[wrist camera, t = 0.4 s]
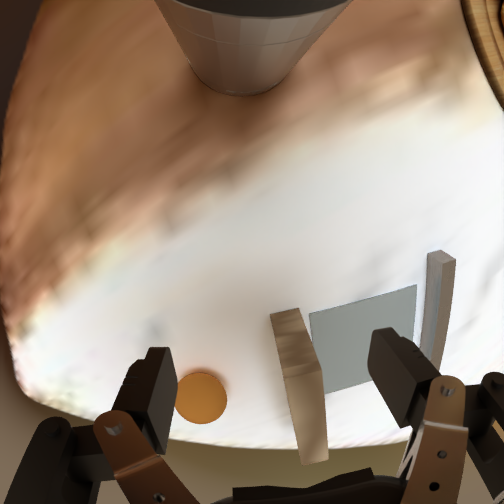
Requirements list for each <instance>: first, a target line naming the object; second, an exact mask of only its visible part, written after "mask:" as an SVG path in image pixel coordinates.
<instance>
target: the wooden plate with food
mask: <svg viewBox="0 0 504 504" xmlns="http://www.w3.org/2000/svg"><path fill="white" fill-rule="evenodd" d="M462 5H463V10H464V14H465V18H466V22H467V25H468V28H469V31H470V35H471V38H472V41H473V43H474V46H475V49H476V52H477V55H478V57H479V60H480V62H481V64H482V67H483V69H484V72H485V74H486V76H487V78H488V80H489V82H490V85H491V87H492V89H493V91H494V93H495V95H496V97H497V99H498V100H499V102H500V104H501V106H502V107H503V109H504V0H462Z"/></svg>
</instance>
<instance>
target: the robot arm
mask: <svg viewBox="0 0 504 504" xmlns="http://www.w3.org/2000/svg"><path fill="white" fill-rule="evenodd" d="M154 1H155V2H156V4H157V6H158V7H159V9H160V11H161V13H162V14H163V16H164V18H165V20H166V21H167V23H168V25H169V27H170V28H171V30H172V32H173V34H174V36H175V37H176V39H177V41H178V43H179V45H180V46H181V48H182V50H183V52H184V54H185V56H186V58H187V59H188V61H189V63H190V65H191V67H192V69H193V70H194V72H195V74H196V75H197V76H198V77H199V79H200V80H201V81H202V82H204V83H205V84H206V85H207V86H209V87H210V88H212V89H214V90H216V91H218V92H220V93H224V94H227V95H233V96H250V95H255V94H259V93H263V92H265V91H267V90H269V89H271V88H273V87H274V86H276V85H277V84H278V83H280V82H281V81H282V80H283V79H284V77H285V76H286V75H287V74H288V73H289V72H290V70H291V69H292V68H293V67H294V66H295V65H296V64H297V62H298V61H299V60H300V59H301V58H302V57H303V55H304V54H305V53H306V52H307V51H308V50H309V48H310V47H311V46H312V45H313V44H314V43H315V41H316V40H317V39H318V38H319V37H320V36H321V35H322V34H323V32H324V31H325V30H326V29H327V28H328V27H329V26H330V25H331V24H332V23H333V21H334V20H335V19H336V18H337V17H338V16H339V15H340V13H341V12H342V11H343V10H344V9H345V8H346V7H347V6H348V5H349V4H350V3H351V2H352V1H353V0H154ZM367 367H368V372H369V374H370V376H371V378H372V380H373V381H374V383H375V385H376V387H377V388H378V390H379V392H380V394H381V395H382V397H383V399H384V401H385V402H386V404H387V406H388V408H389V409H390V411H391V413H392V415H393V417H394V418H395V420H396V422H397V424H398V426H399V427H400V428H404V427H407V426H410V425H411V427H412V428H413V429H412V432H411V434H410V437H409V440H408V444H407V447H406V450H405V453H404V456H403V459H402V462H401V465H400V467H399V471H398V472H397V475H396V477H392V476H385V475H373V472H372V470H371V468H366V469H362V470H358V471H354V472H350V473H346V474H341V475H338V476H335V477H333V478H331V479H328V480H326V481H323V482H321V483H319V484H316V485H314V486H311V487H308V488H289V487H277V486H257V487H239V488H238V487H237V488H233V496H231V497H227V498H224V499H221V500H218V501H216V502H214V503H211V504H457V498H458V494H459V489H460V484H461V479H462V474H463V468H464V462H465V455H466V450H467V452H468V454H469V456H470V457H471V459H472V461H473V463H474V464H475V466H476V468H477V470H478V472H479V473H480V475H481V477H482V479H483V481H484V483H485V484H486V486H487V488H488V490H489V492H490V494H491V496H492V498H493V500H494V502H493V504H504V442H503V441H502V439H501V438H500V436H499V435H498V433H497V432H496V430H495V429H494V428H493V426H492V425H493V423H494V421H495V420H496V421H497V422H498V424H499V425H500V426H501V427H502V429H503V431H504V374H502V373H499V372H490V373H487V374H486V375H485V376H484V377H483V379H482V381H481V384H478V385H466V386H465V385H464V384H463V382H462V381H461V380H459V379H458V378H456V377H453V376H448V375H443V376H442V375H441V374H440V372H439V371H438V370H437V369H436V368H435V367H434V365H433V364H432V363H431V362H430V361H429V359H428V358H427V357H425V355H424V354H423V353H422V351H420V349H419V348H418V347H417V346H416V345H415V343H414V342H412V341H411V340H409V339H407V338H405V337H404V336H403V337H400V336H399V335H398V333H397V332H396V331H395V330H394V329H393V328H392V327H387V328H381V329H375V330H373V332H372V336H371V342H370V348H369V354H368V360H367ZM177 391H178V382H177V376H176V372H175V368H174V364H173V359H172V355H171V351H170V348H169V347H150V348H149V349H148V352H147V354H146V357H145V359H138V360H137V361H136V362H134V363H133V364H132V365H131V366H130V367H129V369H128V372H127V374H126V378H125V379H124V381H123V385H121V388H120V390H119V392H118V395H117V397H116V400H115V402H114V404H113V407H112V409H111V411H108V412H105V413H103V414H101V415H100V416H98V417H97V418H96V420H95V421H94V424H93V425H88V426H79V427H71V425H70V423H69V422H68V421H67V420H66V419H64V418H62V417H50V418H47V419H45V420H44V421H42V422H41V423H40V424H39V425H38V427H37V429H36V431H35V433H34V435H33V437H32V439H31V441H30V443H29V445H28V447H27V449H26V452H25V454H24V456H23V458H22V460H21V463H20V465H19V467H18V469H17V472H16V474H15V476H14V479H13V481H12V484H11V486H10V489H9V491H8V494H7V497H6V499H5V502H4V504H96V501H97V496H98V492H99V488H100V483H101V481H108V480H117V483H118V484H119V486H120V488H121V490H122V491H123V493H124V495H125V496H126V498H127V500H128V501H129V503H130V504H200V503H199V502H198V501H197V500H196V499H195V497H194V496H193V495H192V494H191V493H190V492H189V490H188V489H187V488H186V487H185V486H184V485H183V483H182V482H181V481H180V480H179V479H178V477H177V476H176V475H175V474H174V473H173V471H172V470H171V469H170V467H169V466H168V465H167V464H166V462H165V461H164V459H163V458H162V457H161V456H160V455H159V456H158V455H157V454H162V455H165V453H166V448H167V442H168V437H169V432H170V427H171V421H172V416H173V411H174V406H175V401H176V396H177Z"/></svg>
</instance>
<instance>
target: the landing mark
mask: <svg viewBox="0 0 504 504" xmlns="http://www.w3.org/2000/svg"><path fill="white" fill-rule="evenodd" d="M416 296H417V285H413V286H410V287H406V288H403V289H400V290H396V291H393V292H390V293H386V294H383V295H379V296H376V297H372V298H368V299H365V300H361V301H357V302H354V303H350V304H346V305H342V306H338V307H334V308H331V309H327V310H322V311H318V312H314V313H310V314H309V317H310V324H311V332H312V340H313V347H314V350H315V352H316V355H317V358H318V361H319V363H320V366H321V369H322V375H323V386H324V394H327V393H331V392H335V391H338V390H342V389H345V388H349V387H352V386H356V385H359V384H362V383H365V382H368V381H372V378H371V376H370V374H369V372H368V367H367V360H368V354H369V348H370V342H371V336H372V332H373V330H375V329H381V328H387V327H392V328H393V329H394V330H395V331H396V332H397V333H398V335H399V336H400V337H403V336H404V337H405V338H407V339H409V340H411V341H413V332H414V322H415V311H416Z"/></svg>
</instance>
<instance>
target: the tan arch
mask: <svg viewBox="0 0 504 504" xmlns="http://www.w3.org/2000/svg"><path fill="white" fill-rule="evenodd" d="M270 317H271V321H272V326H273V331H274V335H275V340H276V345H277V349H278V354H279V359H280V363H281V368H282V373H283V378H284V382H285V387H286V392H287V397H288V402H289V407H290V412H291V416H292V421H293V426H294V431H295V435H296V440H297V445H298V450H299V454H300V459H301V464H302V466H303V465H307V464H311V463H316V462H320V461H324V460H328V441H327V425H326V411H325V398H324V386H323V375H322V369H321V366H320V363H319V361H318V358H317V355H316V352H315V350H314V347H313V344H312V342H311V339H310V337H309V334H308V331H307V329H306V326H305V323H304V321H303V318H302V315H301V313H300V310H299V308H296V309H292V310H287V311H283V312H278V313H274V314H270Z"/></svg>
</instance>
